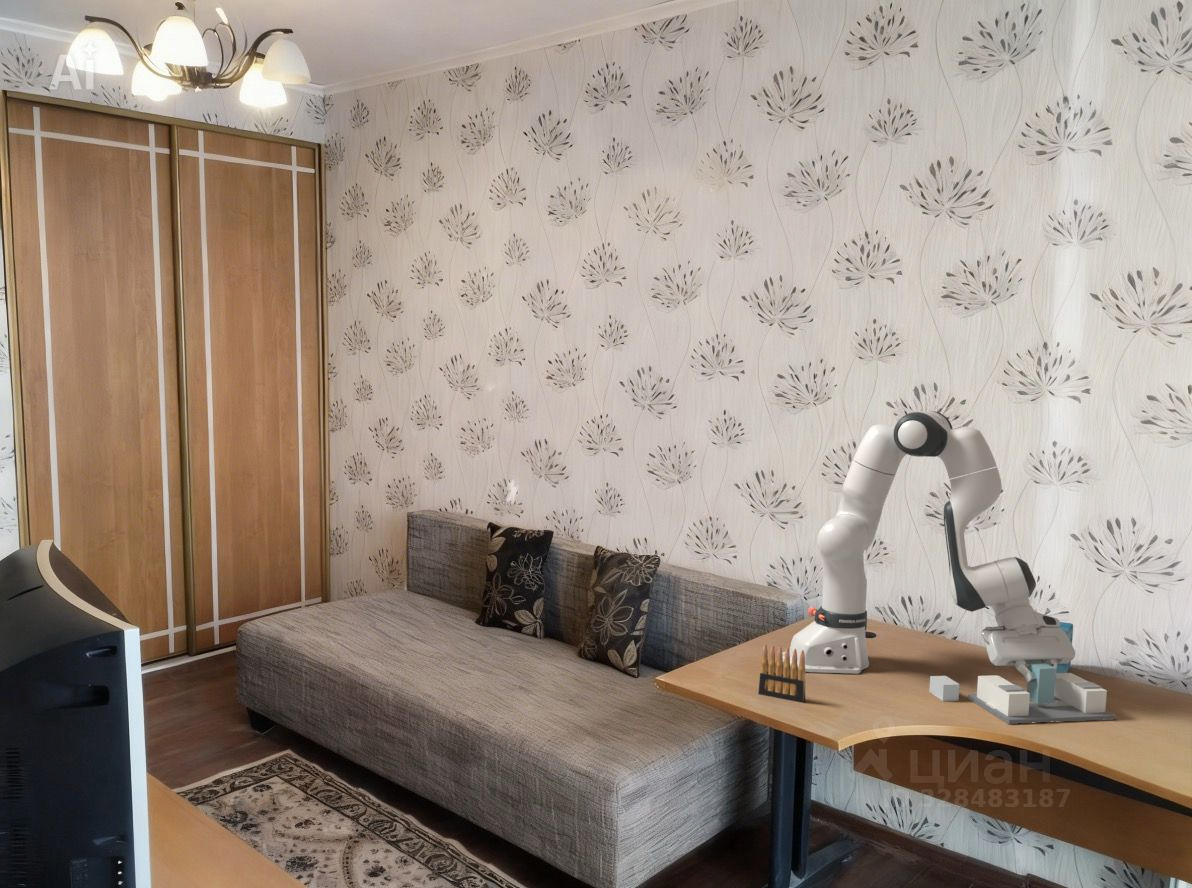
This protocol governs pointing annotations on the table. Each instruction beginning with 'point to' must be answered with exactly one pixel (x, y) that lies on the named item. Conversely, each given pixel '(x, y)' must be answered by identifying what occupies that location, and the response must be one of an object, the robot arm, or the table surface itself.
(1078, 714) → the rail board
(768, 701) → the table surface
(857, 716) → the table surface
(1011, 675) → the table surface
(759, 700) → the table surface
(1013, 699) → the block
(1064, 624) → the data package
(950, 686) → the block
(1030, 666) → the block
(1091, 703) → the block
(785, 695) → the ammunition clip
